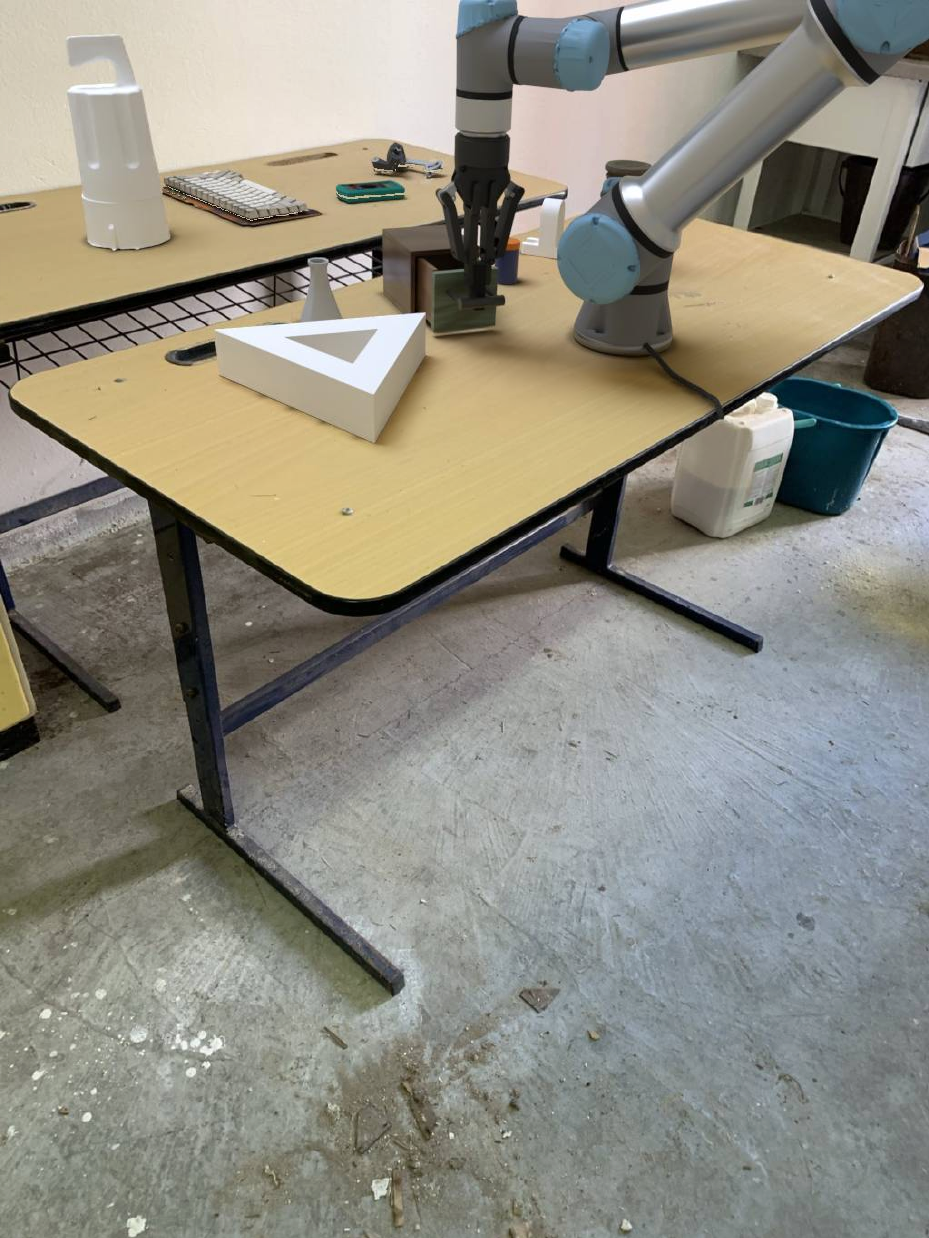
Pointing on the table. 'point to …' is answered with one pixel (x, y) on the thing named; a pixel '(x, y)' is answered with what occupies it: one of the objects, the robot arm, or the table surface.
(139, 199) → the white piece
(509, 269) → the glue stick
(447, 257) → the drawer
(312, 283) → the flask
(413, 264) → the cabinet
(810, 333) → the table surface
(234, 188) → the mechanical keyboard
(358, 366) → the triangle block
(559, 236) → the cable organizer
